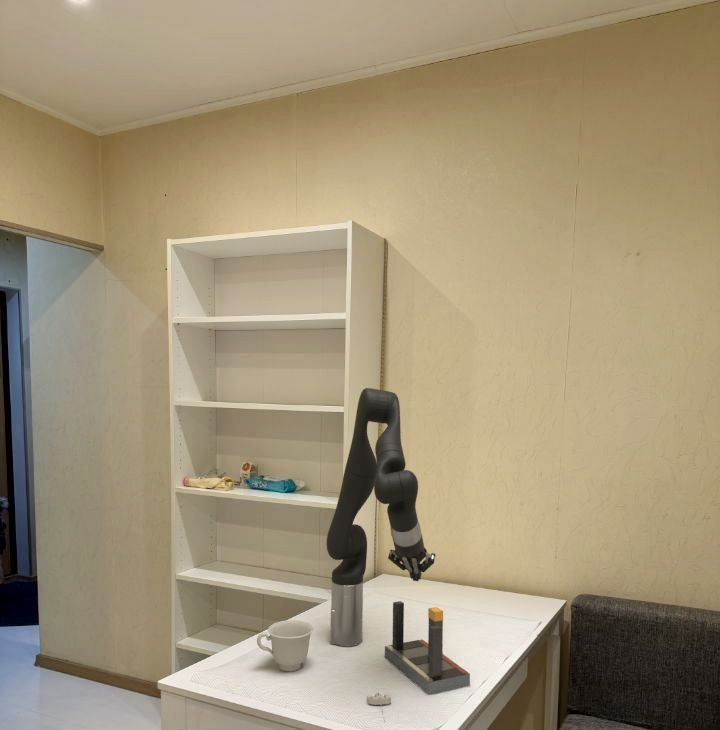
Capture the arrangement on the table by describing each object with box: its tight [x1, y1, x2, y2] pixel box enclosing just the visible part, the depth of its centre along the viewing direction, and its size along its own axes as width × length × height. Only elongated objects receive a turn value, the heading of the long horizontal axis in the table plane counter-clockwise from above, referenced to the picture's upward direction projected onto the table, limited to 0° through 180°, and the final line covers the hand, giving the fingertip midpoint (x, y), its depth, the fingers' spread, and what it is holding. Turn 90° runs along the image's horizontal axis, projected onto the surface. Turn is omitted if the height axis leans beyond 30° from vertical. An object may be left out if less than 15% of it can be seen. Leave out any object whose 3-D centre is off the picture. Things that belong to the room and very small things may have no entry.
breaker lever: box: [427, 606, 444, 658], centre depth 166 cm, size 2×3×12 cm
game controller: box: [366, 691, 392, 723], centre depth 146 cm, size 6×12×3 cm, turn 23°
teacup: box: [256, 619, 314, 672], centre depth 166 cm, size 12×15×10 cm
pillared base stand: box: [384, 600, 471, 696], centre depth 165 cm, size 12×23×15 cm, turn 25°
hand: (416, 578), depth 169 cm, fingers closed
